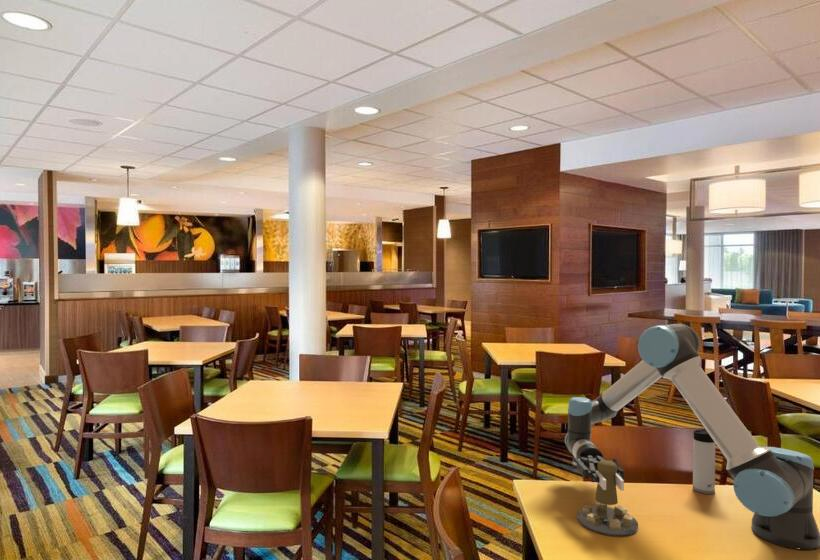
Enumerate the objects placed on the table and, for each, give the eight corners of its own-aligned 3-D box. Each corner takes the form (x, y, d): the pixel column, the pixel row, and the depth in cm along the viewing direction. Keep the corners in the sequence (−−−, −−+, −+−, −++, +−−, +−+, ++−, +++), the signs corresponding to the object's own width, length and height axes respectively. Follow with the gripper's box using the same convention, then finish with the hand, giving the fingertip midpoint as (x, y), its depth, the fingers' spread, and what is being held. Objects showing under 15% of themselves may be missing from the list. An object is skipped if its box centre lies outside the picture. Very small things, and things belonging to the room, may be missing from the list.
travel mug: (715, 496, 163) (716, 433, 163) (692, 491, 167) (692, 430, 167) (716, 489, 168) (716, 429, 168) (693, 485, 172) (694, 425, 172)
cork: (619, 506, 142) (620, 466, 141) (596, 503, 143) (597, 464, 143) (615, 496, 147) (616, 458, 147) (593, 494, 149) (594, 457, 149)
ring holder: (642, 518, 147) (642, 508, 147) (632, 542, 134) (632, 531, 134) (585, 505, 156) (585, 495, 156) (570, 526, 142) (571, 515, 142)
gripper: (614, 467, 163) (645, 500, 139) (560, 466, 163) (581, 497, 140) (615, 444, 162) (645, 472, 139) (560, 442, 163) (582, 470, 140)
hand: (613, 485), depth 140 cm, fingers closed on cork, 4 cm apart
